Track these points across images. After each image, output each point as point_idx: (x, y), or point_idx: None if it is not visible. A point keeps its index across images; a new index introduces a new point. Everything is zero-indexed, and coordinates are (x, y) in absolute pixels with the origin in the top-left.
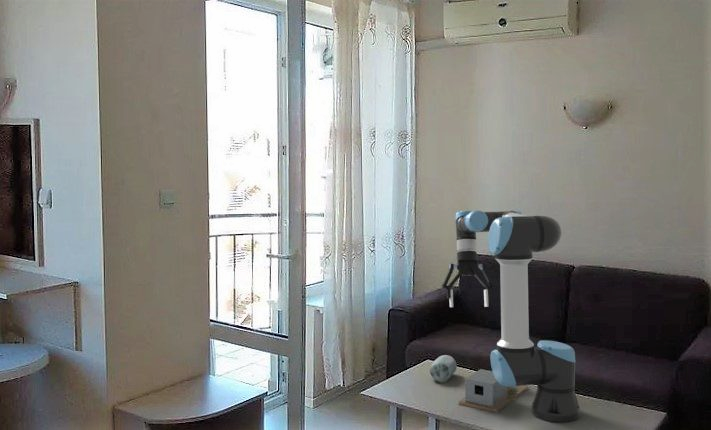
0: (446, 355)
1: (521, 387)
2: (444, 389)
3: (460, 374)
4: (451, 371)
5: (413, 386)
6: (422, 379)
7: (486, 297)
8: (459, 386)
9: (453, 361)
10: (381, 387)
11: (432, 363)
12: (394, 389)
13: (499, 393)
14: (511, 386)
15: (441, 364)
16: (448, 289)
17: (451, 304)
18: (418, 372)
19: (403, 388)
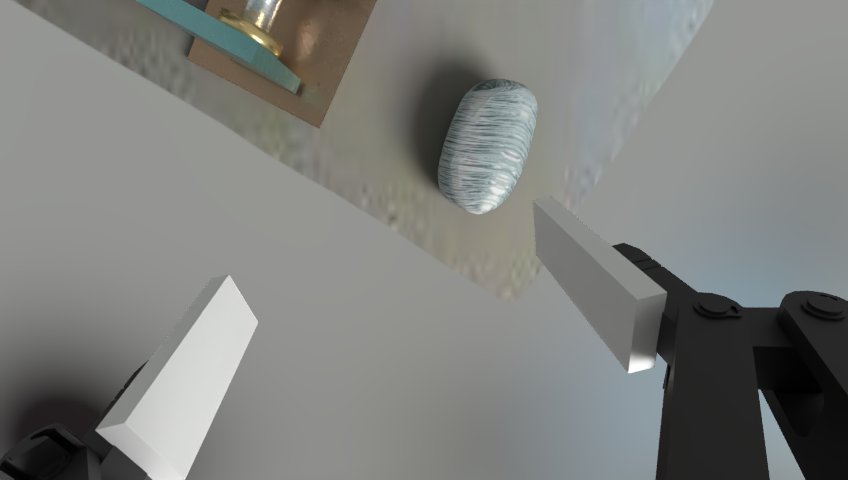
0: (483, 177)
1: None
2: (476, 35)
3: (421, 192)
4: (458, 106)
5: (574, 60)
6: (543, 132)
7: (183, 334)
8: (427, 70)
9: (454, 141)
10: (674, 43)
11: (531, 134)
12: (635, 25)
13: None
14: None
15: (503, 85)
16: (697, 304)
17: (559, 205)
18: None
19: (606, 37)
